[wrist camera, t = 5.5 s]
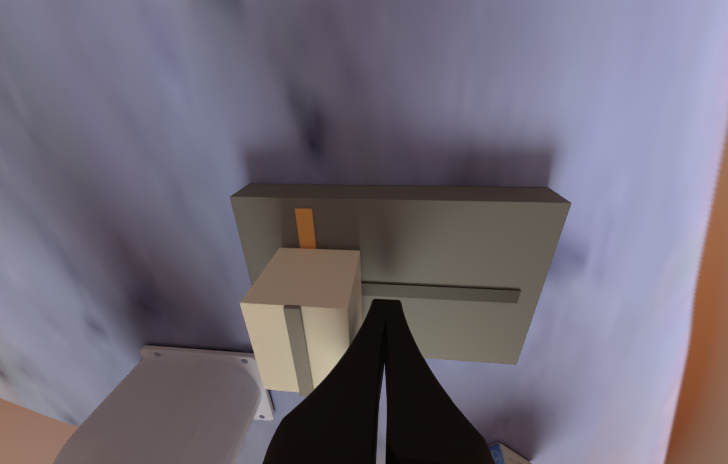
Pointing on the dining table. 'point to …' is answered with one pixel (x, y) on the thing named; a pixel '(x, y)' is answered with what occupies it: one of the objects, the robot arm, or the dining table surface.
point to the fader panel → (423, 253)
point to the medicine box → (505, 455)
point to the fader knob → (303, 315)
